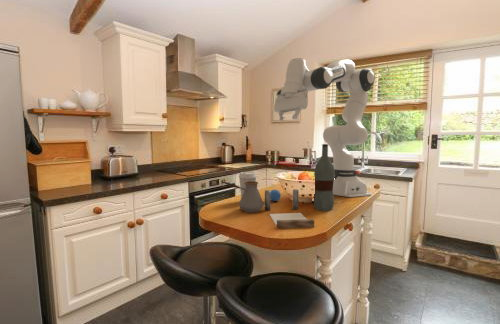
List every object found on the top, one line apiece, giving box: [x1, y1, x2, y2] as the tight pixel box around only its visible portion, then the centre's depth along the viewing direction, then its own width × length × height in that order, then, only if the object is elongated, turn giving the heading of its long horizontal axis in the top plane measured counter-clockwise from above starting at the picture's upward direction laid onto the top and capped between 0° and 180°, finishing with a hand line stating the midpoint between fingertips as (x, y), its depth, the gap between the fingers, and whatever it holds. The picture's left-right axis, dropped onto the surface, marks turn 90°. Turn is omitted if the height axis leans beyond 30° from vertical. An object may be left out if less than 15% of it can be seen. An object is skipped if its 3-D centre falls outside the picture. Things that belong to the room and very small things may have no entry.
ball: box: [270, 189, 282, 202], centre depth 146 cm, size 6×6×6 cm
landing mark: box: [269, 212, 307, 226], centre depth 117 cm, size 14×14×1 cm
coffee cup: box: [238, 171, 258, 198], centre depth 144 cm, size 10×10×15 cm
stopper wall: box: [276, 218, 315, 230], centre depth 107 cm, size 14×2×2 cm, turn 96°
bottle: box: [313, 143, 335, 212], centre depth 131 cm, size 9×9×30 cm
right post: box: [292, 188, 299, 211], centre depth 131 cm, size 3×3×9 cm
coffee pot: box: [221, 181, 265, 213], centre depth 126 cm, size 21×12×15 cm, turn 131°
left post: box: [264, 189, 272, 212], centre depth 130 cm, size 3×3×9 cm
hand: (287, 120), depth 135 cm, fingers open, 8 cm apart
